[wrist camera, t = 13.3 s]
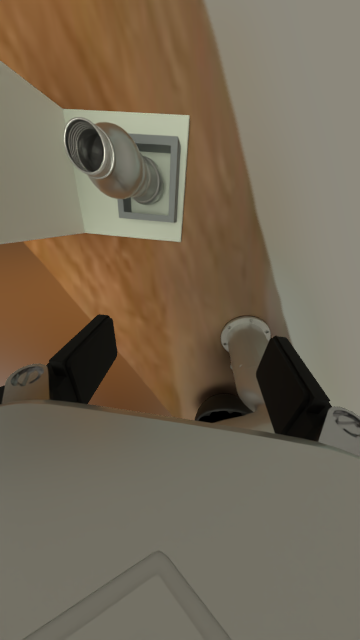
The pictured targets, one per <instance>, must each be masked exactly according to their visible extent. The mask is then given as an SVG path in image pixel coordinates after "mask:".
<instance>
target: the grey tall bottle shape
mask: <svg viewBox="0 0 360 640" xmlns="http://www.w3.org/2000/svg"><path fill="white" fill-rule="evenodd" d="M63 141H64V147H65V150H66V153H67V155H68V157H69V159H70V161H71V162H72V163H73V165H74V166H75V167H76V168H77V169H78V170H80V171H81V172H83V173H85V174H87V175H88V177H89V179H90V180H91V181H92V183H93V184H94V185H95V186H96V187H97V188H98V189H99V190H100V191H101V192H102V193H103V194H105V195H106V196H109V197H111V198H114V199H126V198H130V197H131V198H132V199H134V200H135V201H136V202H138V203H140V204H143V205H150V204H153V203H154V202H156V201H157V200H158V199H159V198H160V196H161V194H162V191H163V178H162V174H161V171H160V169H159V167H158V166H157V164H156V163H155V162H154V161H153V160H151V159H150V158H148V157H146V156H142V155H141V153H140V151H139V149H138V147H137V145H136V144H135V142H134V140H133V139H132V138H131V136H130V135H129V134H128V133H127V132H126V131H125V130H124V129H123V128H121V127H120V126H118V125H116V124H113V123H108V122H99V123H96V124H93V123H92V122H91V121H90V120H88V119H86V118H82V117H74V118H72V119H71V120H69V121H68V123H67V124H66V126H65V129H64V134H63Z"/></svg>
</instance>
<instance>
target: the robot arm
mask: <svg viewBox="0 0 360 640" xmlns="http://www.w3.org/2000/svg"><path fill="white" fill-rule="evenodd" d="M250 319H251V320H250ZM270 336H271V333H270V329H269V327H268V326H267V324H266V323H265V322H264V321H263V320H261V319H259V318H257V317H253V316H242V317H238V318H235V319H233V320H231V321H230V322H229V323H227V324H226V325H225V326H224V328H223V330H222V332H221V343H222V345H223V347H224V348H225V350H227V351H228V352H229V354H230V359H231V365H230V368H231V369H232V370H233V374H234V379H235V385H236V390H237V393H238V395H239V397H240V399H241V400H242V402H243V403H244V404H245V405H246V406H247V407H248V408H249V409H250V410H252V411H253V413H249V414H246V415H243V416H239V417H235V418H230V419H226V420H222V421H218V422H215V423H208V422H201V421H195V420H188V419H182V418H176V417H168V416H162V415H156V414H150V413H143V412H136V411H130V410H123V409H116V408H109V407H103V406H96V405H89V404H88V402H89V401H90V399H91V397H92V396H93V394H94V392H95V391H96V389H97V388H98V386H99V385H100V383H101V381H102V380H103V378H104V377H105V375H106V373H107V372H108V370H109V368H110V367H111V365H112V364H113V362H114V360H115V359H116V357H117V347H116V340H115V333H114V326H113V320H112V318H110V317H109V316H108V315H97V316H96V317H95V318H94V319H93V320H92V321H91V322H90V323H89V324H88V325H87V326H85V327H84V328H83V329H82V330H81V331H80V332H79V333H78V334H77V335H76V336H75V337H74V338H73V339H71V340H70V341H69V342H68V343H67V344H66V345H65V346H64V347H63V348H62V349H61V350H60V351H58V353H56V354H55V355H54V356H53V357H52V358H51V359H50V360H49V363H48V364H47V365H46V366H45V365H43V364H32V365H28V366H25V367H22V368H20V369H18V370H17V371H15V372H14V373H12V374H11V375H10V376H9V377H8V379H7V381H6V383H5V386H2V387H0V640H360V417H359V416H358V415H356V414H355V413H353V412H352V411H349V410H347V409H345V408H342V407H332V406H331V405H330V403H329V401H330V400H329V398H328V397H327V395H326V394H325V392H324V391H323V390H322V388H321V387H320V385H319V384H318V382H317V381H316V379H315V378H314V377H313V375H312V374H311V372H310V371H309V369H308V368H307V367H306V365H305V364H304V362H303V361H302V359H301V358H300V356H299V355H298V354H297V352H296V351H295V349H294V348H293V346H292V345H291V343H290V342H289V341H288V339H287V338H285V337H278V336H274V337H273V338H271V339H270Z"/></svg>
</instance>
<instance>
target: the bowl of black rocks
mask: <svg viewBox="0 0 360 640" xmlns="http://www.w3.org/2000/svg"><path fill="white" fill-rule="evenodd" d="M249 413H253V411H252V410H250V409H249V408H248V407H247V406H246V405H245V404H244V403H243V402H242V400H241V399H240V398H238V397H236V396H233V395H230V394H218V395H214V396H212V397H210V398H208V399H207V400H206V401H205V402H204V403H203V404H202V405H201V406H200V408H199V409H198V411H197V414H196V417H195V421H201V422H208V423H215V422H218V421H222V420H226V419H230V418H235V417H239V416H243V415H246V414H249Z"/></svg>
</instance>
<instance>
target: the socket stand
mask: <svg viewBox="0 0 360 640" xmlns="http://www.w3.org/2000/svg"><path fill="white" fill-rule="evenodd" d="M74 117H82V118H86V119H88V120H90V121H91V122H92V123H93V124H96V123H99V122H108V123H113V124H116V125H118V126H120V127H121V128H123V129H124V130H125V131H126V132H127V133H128V134H129V135H130V136H131V138H132V139H133V140H134V142H135V144H136V145H137V147H138V149H139V151H140V153H141V155H142V156H146V157H148V158H150V159H151V160H153V161H154V162H155V163H156V164H157V166H158V167H159V169H160V171H161V174H162V178H163V191H162V194H161V196H160V198H159V199H158V200H157V201H156V202H154V203H153V204H150V205H143V204H140V203H138V202H136V201H135V200H134V199H132V198H131V197H130V198H126V199H114V198H111V197H109V196H106V195H105V194H103V193H102V192H101V191H100V190H99V189H98V188H97V187H96V186H95V185H94V184H93V183H92V181H91V180H90V179H89V177H88V175H87V174H85V173H83V172H81V171H80V170H78V169H77V168H76V167H75V166H74V165H73V163H72V162H71V161H70V159H69V157H68V155H67V153H66V150H65V147H64V141H63V134H64V129H65V126H66V124H67V123H68V121H69V120H71V119H72V118H74ZM189 124H190V118H189V115H171V114H152V113H133V112H114V111H95V110H75V109H62V108H61V107H60V106H58V105H57V104H56V103H54V102H53V101H52V100H51V99H49V98H48V97H47V96H45V95H44V94H43V93H41V92H40V91H39V90H38V89H36V88H35V87H34V86H32V85H31V84H30V83H29V82H27V81H26V80H25V79H23V78H22V77H21V76H19V75H18V74H17V73H16V72H14V71H13V70H12V69H10V68H9V67H8V66H7V65H5V64H4V63H3V62H1V61H0V244H5V243H13V242H19V241H28V240H35V239H43V238H50V237H58V236H65V235H73V234H81V233H92V234H102V235H113V236H123V237H133V238H144V239H154V240H165V241H175V242H181V236H182V222H183V208H184V194H185V180H186V166H187V152H188V138H189Z"/></svg>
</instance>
